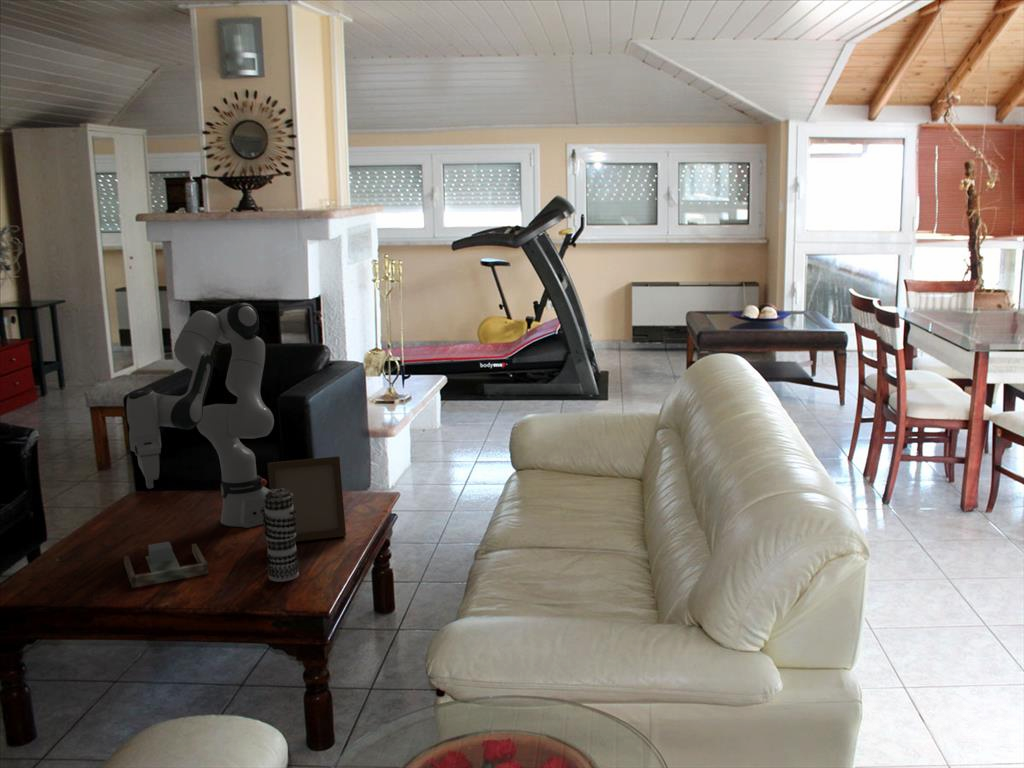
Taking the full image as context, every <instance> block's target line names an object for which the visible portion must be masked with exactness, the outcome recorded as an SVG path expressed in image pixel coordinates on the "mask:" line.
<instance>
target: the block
mask: <svg viewBox="0 0 1024 768" xmlns="http://www.w3.org/2000/svg"><path fill="white" fill-rule="evenodd" d="M147 548H148V556H149V558H150V561H151V563H152V564H156V563H161V562H167V561H173V553H174V551H173V547H172V545H171V542H170V541H164V542H158V543H152V544H147Z"/></svg>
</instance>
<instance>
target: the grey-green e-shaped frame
mask: <svg viewBox="0 0 1024 768" xmlns="http://www.w3.org/2000/svg"><path fill="white" fill-rule="evenodd" d="M191 550H192V555H193V557H194V559H195V560H196V563H190V564H186V565H182V566H180V564H179V562H178V559H177V557H176V555H175V553H174V552H173V561H167V562H161V563H156V564H152V563H151V561H150V558H149V555H147V556H145V560H146V562H147V566H148V568H149V570H150V571H148V572H141V573H136V574H135V571H134V568H133V566H132V563H131V560H130V556H129V555H124V556H123V562H124V567H125V570H126V573H127V574H126V575H127V577H128V579H129V584H130V586H131V589H135V588H140V587H141V588H142V587H145V586H150V585H151V586H152V585H156V584H160V583H162V584H163V583H166V582H173V581H177V580H182V579H188V578H194V577H199V576H203V575H208V574H209V567H208V562H207V561H206V559H205V557H204V555H203V554H202V552H201V550H200V548H199V546H198V545H197V543H191Z"/></svg>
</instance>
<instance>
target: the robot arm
mask: <svg viewBox="0 0 1024 768" xmlns="http://www.w3.org/2000/svg"><path fill="white" fill-rule="evenodd" d="M259 333H260V317H259V313H258V310H257V309H256V308H255V307H254V306H253V305H252V304H251V303H247V302H237V303H234V304H232V305H231V306H227V307H225V308H223V309H221V310H220V311H219V312H218V313H213V312H211V311H208V310H205V309H204V310H203V309H202V310H196V311H195V312H193V313H192V315H191V316H190V317H189V319H188V320H187V321H186V322H185V324H184V325H183V327H182V329H181V331H180V332H179V335H178V337H177V339H176V341H175V344H174V348H173V351H174V355H175V358H176V359H177V361H179V363H180V364H181V365H183V366H184V367H185V368H187V369H188V370H190V371H192V374H191V378H190V382H189V385H188V388H187V391H186V392H185V393H184V394H183V395H170V394H168V395H167V394H162V393H158V392H155V391H154V390H153V389H152V388H149V387H145V388H144V387H143V388H142V387H141V388H139V389H134V390H133V391H131V392H130V393H129V394H128V395H127V398H126V418H127V419H126V420H127V423H128V427H129V430H128V431H129V432H128V437H129V439H128V440H129V447H130V451H131V452H134V455H135V456H136V457H137V463H138V467H139V469H140V470H141V472H142V475H143V477H144V478H145V486H146V488H147V489H149V490H150V489H153V488H154V486H155V485H154V480H155V481H156V480H159V477H160V454H161V452H162V450H161V448H162V439H161V438H162V437H161V430H160V427H165V428H166V427H167V428H168V427H169V428H177V429H181V430H187V431H189V430H192V429H194V428H195V427H196V428H197V430H198V432H199V433H200V434H201V435H202V436H203V437H205V438H206V439H207V440H208V441H209V442H210V444H211V445H212V447H214V450H216V453H217V455H218V459H219V464H220V471H221V472H220V473H221V480H220V492H221V497H222V510H221V516H220V517H221V518H220V521H219V522H220V524H222V525H224V526H227V527H241V528H246V529H249V528H253V527H257V526H262V525H265V524H264V522H263V520H264V519H263V518H264V517H263V514H262V513H263V512H264V511H265V509H264V507H265V500H264V498H263V497H264V496H265V495H266V494H267V492H268V491H269V488H268V487H266V486H267V484H268V481H267V480H266V479H265V478H263V477H261V476H260V475H258V474H257V463H256V460H257V459H256V456H255V455H256V454H255V453H254V452H253V451H252V449H250V448H248V447H246V445H244V444H243V443H242V442H241V441H240V439H257V438H263V437H267V436H268V435H269V434H270V433H271V432H272V430H273V428H274V424H275V419H274V414H273V412H272V411H271V409H270V408H269V407H267V406H266V404H265V402H264V401H263V398H262V396H261V395H262V394H261V386H262V379H263V374H264V373H263V372H264V369H265V367H264V366H265V360H266V344H265V341H264V340H263V339H262V338H261V337H259V336H258V335H259ZM215 345H217V346H226V345H230V346H231V357H230V360H229V364H228V369H227V374H226V379H225V387H226V389H227V390H228V391H229V393H231V394H232V395H234V396H235V397H237V401H236V403H233V404H231V403H214V404H208V405H205V400H206V396H207V393H208V389H209V386H210V381H211V378H212V376H213V375H212V374H213V369H214V361H213V358H212V357H211V354H212V351H213V349H214V346H215ZM265 516H266V514H265ZM265 521H266V520H265Z"/></svg>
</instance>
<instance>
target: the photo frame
mask: <svg viewBox="0 0 1024 768" xmlns="http://www.w3.org/2000/svg"><path fill="white" fill-rule="evenodd" d="M340 459H341V458H340V456H339V455H337V456H329V457H317V458H307V459H306V458H305V459H296V460H294V459H293V460H284V461H275V462H274V461H273V462H267V463H266V464H267V475H268V476H267V477H268V489H269V490H272V489H277V488H284V489H287V490H289V492H290V493H292V494H293V496H292V504H293V509H295V510H296V513H294V514H293V516H296V520H294V521H295V522H296V523H297V524H296V525H295V526H294V528H295V529H296V536H295V543H296V542H304V541H315V540H320V539H321V540H322V539H330V538H339V537H340V538H341V537H345V536H347V532H346V520H345V509H344V508H345V507H344V506H345V505H344V497H343V495H344V494H343V485H342V474H341V473H342V472H341V460H340Z"/></svg>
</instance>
